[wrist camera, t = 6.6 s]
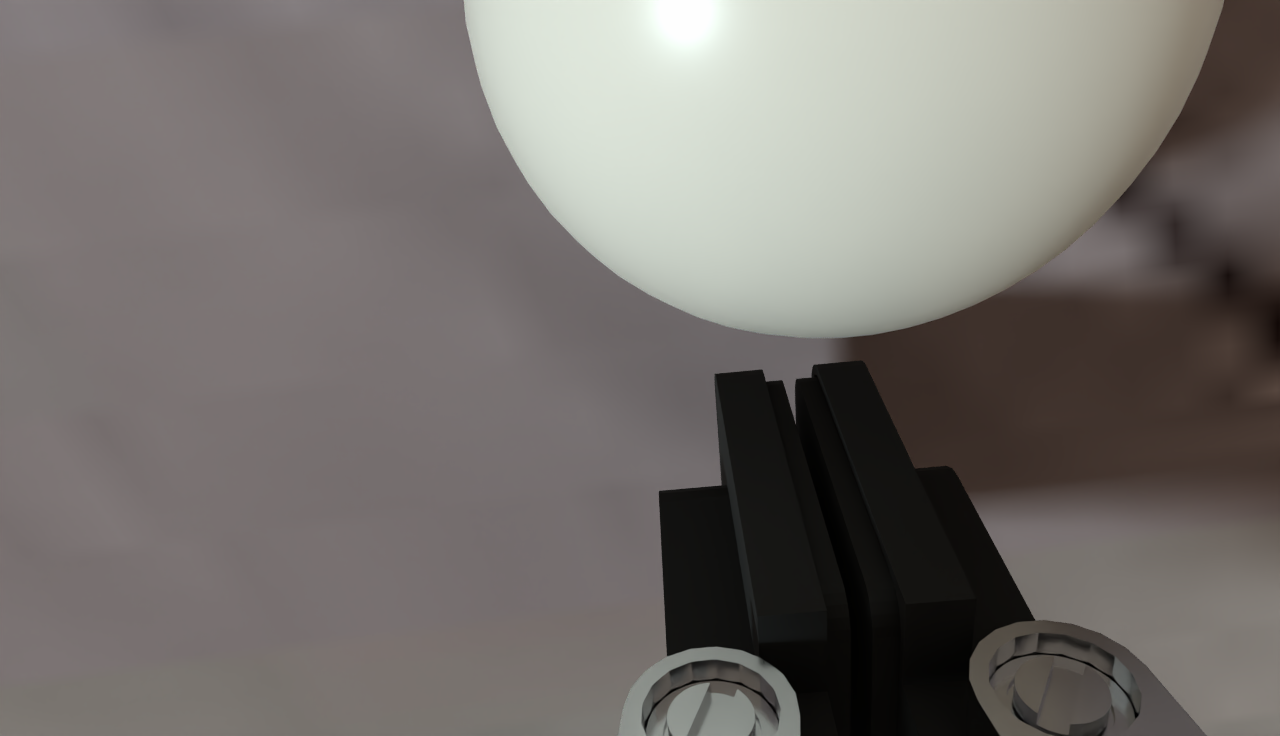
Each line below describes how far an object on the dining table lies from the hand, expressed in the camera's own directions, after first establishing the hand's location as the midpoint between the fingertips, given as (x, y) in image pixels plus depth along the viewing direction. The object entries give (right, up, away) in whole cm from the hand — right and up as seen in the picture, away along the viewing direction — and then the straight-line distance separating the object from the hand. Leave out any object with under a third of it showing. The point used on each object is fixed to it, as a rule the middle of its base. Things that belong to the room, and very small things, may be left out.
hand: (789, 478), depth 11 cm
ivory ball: (0, +4, -4) cm, 6 cm away
